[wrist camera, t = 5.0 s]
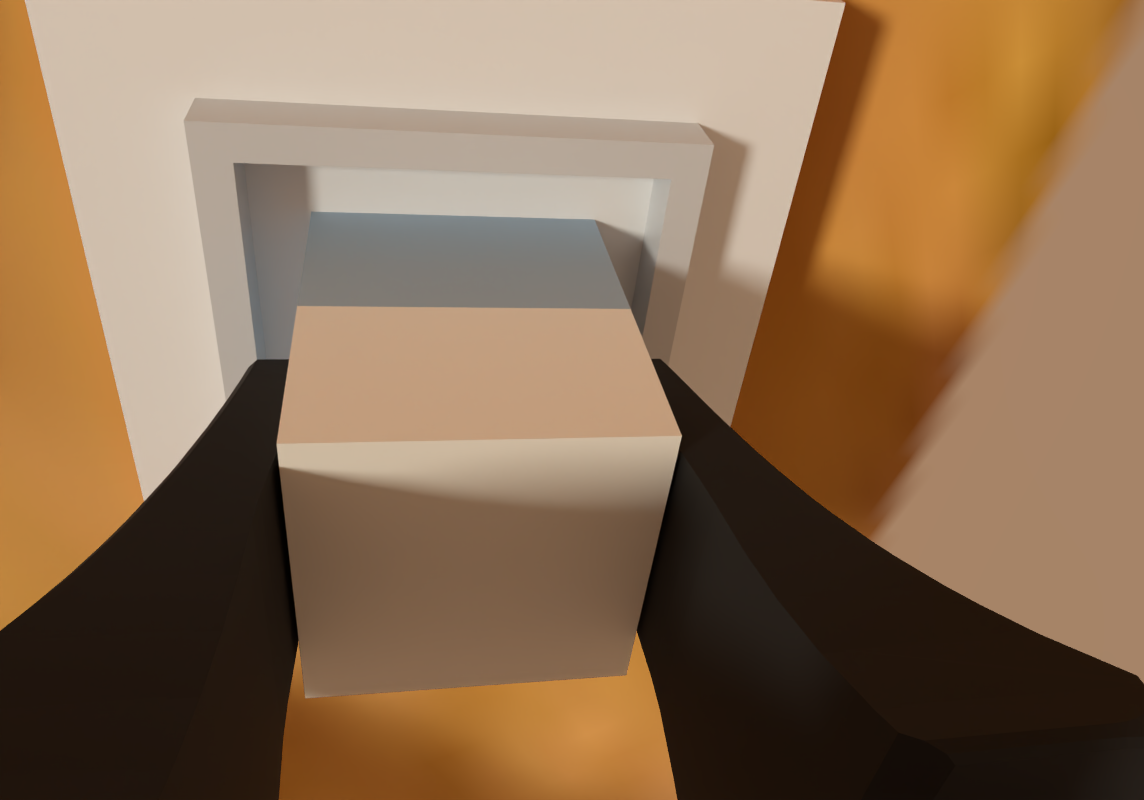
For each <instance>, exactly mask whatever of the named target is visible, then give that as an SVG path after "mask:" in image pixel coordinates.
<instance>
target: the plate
mask: <svg viewBox="0 0 1144 800" xmlns="http://www.w3.org/2000/svg"><path fill="white" fill-rule="evenodd" d="M25 3H26V7H27V11H28V16H29V20H30V24H31V28H32V32H33V37H34V41H35V45H36V49H37V53H38V58H39V62H40V66H41V70H42V74H43V79H44V83H45V87H46V91H47V95H48V100H49V104H50V108H51V112H52V116H53V121H54V125H55V129H56V133H57V137H58V142H59V146H60V150H61V154H62V158H63V163H64V167H65V171H66V175H67V179H68V184H69V188H70V192H71V196H72V200H73V205H74V209H75V213H76V217H77V221H78V226H79V230H80V234H81V238H82V242H83V247H84V251H85V255H86V259H87V263H88V268H89V272H90V276H91V280H92V284H93V289H94V293H95V297H96V301H97V305H98V310H99V314H100V318H101V322H102V326H103V331H104V335H105V339H106V343H107V347H108V351H109V356H110V360H111V364H112V368H113V372H114V377H115V381H116V385H117V389H118V393H119V398H120V402H121V406H122V410H123V414H124V419H125V423H126V427H127V431H128V435H129V440H130V444H131V448H132V452H133V456H134V461H135V465H136V469H137V473H138V477H139V482H140V486H141V490H142V494H143V498H144V501H145V500H146V499H147V498H148V497H149V496H150V495H151V493H152V492H153V491H154V490H155V489H156V488H157V487H158V486H159V485H160V484H161V482H162V481H163V480H164V479H165V478H166V477H167V476H168V475H169V474H170V472H171V471H172V470H173V469H174V468H175V467H176V465H177V464H178V463H179V462H180V461H181V459H182V458H183V457H184V456H185V454H186V453H187V452H188V450H189V449H190V448H191V447H192V445H193V444H194V443H195V442H196V440H197V439H198V438H199V437H200V435H201V434H202V433H203V432H204V430H205V429H206V428H207V427H208V425H209V424H210V423H211V421H212V420H213V418H214V417H215V416H216V414H217V413H218V412H219V410H220V409H221V407H222V406H223V405H224V403H225V402H226V400H227V399H228V398H229V396H230V395H231V393H232V392H233V390H234V389H235V387H236V386H237V384H238V383H239V381H240V380H241V378H242V377H243V375H244V374H245V372H246V370H247V369H248V367H249V366H250V365H251V364H253V363H254V362H255V361H256V360H257V359H289V357H290V350H291V344H292V337H293V330H294V324H295V317H296V310H297V304H298V297H299V290H300V284H301V277H302V270H303V263H304V257H305V250H306V243H307V237H308V230H309V223H310V217H311V212H345V213H381V214H416V215H451V216H487V217H522V218H558V219H593V220H595V222H596V225H597V227H598V229H599V232H600V234H601V237H602V239H603V242H604V244H605V247H606V249H607V252H608V254H609V257H610V259H611V262H612V264H613V267H614V269H615V272H616V274H617V277H618V279H619V281H620V284H621V286H622V289H623V291H624V294H625V296H626V299H627V301H628V304H629V306H630V309H631V311H632V314H633V316H634V319H635V321H636V324H637V326H638V328H639V331H640V333H641V336H642V338H643V341H644V343H645V346H646V348H647V351H648V353H649V356H650V358H651V359H661V360H662V361H663V362H664V363H666V364H667V365H668V366H669V367H670V368H671V369H672V370H673V371H674V372H675V373H676V374H677V375H678V376H679V377H680V378H681V379H682V380H683V381H684V382H685V383H686V384H687V385H688V386H689V387H690V388H691V389H692V390H693V391H694V392H695V393H696V394H697V395H698V396H699V397H700V398H701V399H702V400H703V401H704V402H705V403H706V404H707V405H708V406H709V407H710V408H711V409H712V410H713V411H714V412H715V413H716V414H717V415H718V416H719V417H720V418H721V419H722V420H723V421H724V422H726V423H727V424H728V425H729V426H731V423H732V419H733V415H734V412H735V408H736V404H737V401H738V397H739V393H740V390H741V386H742V382H743V379H744V375H745V371H746V368H747V364H748V360H749V356H750V353H751V349H752V345H753V342H754V338H755V334H756V331H757V327H758V323H759V320H760V316H761V312H762V309H763V305H764V301H765V298H766V294H767V290H768V287H769V283H770V279H771V276H772V272H773V268H774V265H775V261H776V257H777V254H778V250H779V246H780V242H781V239H782V235H783V231H784V228H785V224H786V220H787V217H788V213H789V209H790V206H791V202H792V198H793V195H794V191H795V187H796V184H797V180H798V176H799V173H800V169H801V165H802V162H803V158H804V154H805V151H806V147H807V143H808V140H809V136H810V132H811V128H812V125H813V121H814V117H815V114H816V110H817V106H818V103H819V99H820V95H821V92H822V88H823V84H824V81H825V77H826V73H827V70H828V66H829V62H830V59H831V55H832V51H833V48H834V44H835V40H836V37H837V33H838V29H839V26H840V22H841V18H842V15H843V11H844V7H845V2H843V1H842V0H25Z"/></svg>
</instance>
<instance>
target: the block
mask: <svg viewBox="0 0 1144 800" xmlns="http://www.w3.org/2000/svg"><path fill="white" fill-rule="evenodd" d="M681 438H682V435H681V432H680V430H679V428H678V425H677V423H676V420H675V418H674V415H673V413H672V410H671V408H670V405H669V403H668V400H667V398H666V395H665V393H664V390H663V388H662V385H661V383H660V380H659V378H658V376H657V373H656V371H655V368H654V366H653V363H652V361H651V358H650V356H649V353H648V351H647V348H646V346H645V343H644V341H643V338H642V336H641V333H640V331H639V328H638V326H637V324H636V321H635V319H634V316H633V314H632V311H631V309H630V306H629V304H628V301H627V299H626V296H625V294H624V291H623V289H622V286H621V284H620V281H619V279H618V277H617V274H616V272H615V269H614V267H613V264H612V262H611V259H610V257H609V254H608V252H607V249H606V247H605V244H604V242H603V239H602V237H601V234H600V232H599V229H598V227H597V225H596V222H595V220H593V219H558V218H522V217H487V216H451V215H416V214H381V213H345V212H311V217H310V223H309V230H308V237H307V243H306V250H305V257H304V263H303V270H302V277H301V284H300V290H299V297H298V304H297V310H296V317H295V324H294V330H293V337H292V344H291V350H290V357H289V364H288V370H287V377H286V384H285V390H284V397H283V404H282V410H281V417H280V424H279V430H278V437H277V453H278V462H279V471H280V479H281V488H282V497H283V506H284V515H285V524H286V533H287V541H288V550H289V559H290V568H291V577H292V586H293V594H294V603H295V612H296V621H297V630H298V639H299V648H300V656H301V665H302V674H303V683H304V692H305V698H318V697H332V696H345V695H359V694H373V693H387V692H401V691H415V690H429V689H442V688H456V687H470V686H484V685H498V684H512V683H525V682H539V681H553V680H567V679H581V678H595V677H608V676H622V675H626V674H627V670H628V665H629V661H630V657H631V652H632V648H633V644H634V639H635V635H636V631H637V627H638V622H639V618H640V614H641V609H642V605H643V601H644V597H645V592H646V588H647V584H648V579H649V575H650V571H651V567H652V562H653V558H654V554H655V549H656V545H657V541H658V536H659V532H660V528H661V524H662V519H663V515H664V511H665V506H666V502H667V498H668V494H669V489H670V485H671V481H672V476H673V472H674V468H675V463H676V459H677V455H678V451H679V446H680V442H681Z"/></svg>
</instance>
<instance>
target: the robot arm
mask: <svg viewBox="0 0 1144 800" xmlns="http://www.w3.org/2000/svg"><path fill="white" fill-rule="evenodd" d="M651 361H652V363H653V366H654V368H655V371H656V373H657V376H658V378H659V380H660V383H661V385H662V388H663V390H664V393H665V395H666V398H667V400H668V403H669V405H670V408H671V410H672V413H673V415H674V418H675V420H676V423H677V425H678V428H679V430H680V432H681V435H682V438H681V442H680V446H679V451H678V455H677V459H676V463H675V468H674V472H673V476H672V481H671V485H670V489H669V494H668V498H667V502H666V506H665V511H664V515H663V519H662V524H661V528H660V532H659V536H658V541H657V545H656V549H655V554H654V558H653V562H652V567H651V571H650V575H649V579H648V584H647V588H646V592H645V597H644V601H643V605H642V609H641V614H640V618H639V622H638V627H637V633H638V636H639V639H640V642H641V646H642V649H643V652H644V655H645V658H646V662H647V665H648V668H649V671H650V674H651V678H652V681H653V685H654V689H655V693H656V696H657V700H658V704H659V708H660V712H661V717H662V722H663V727H664V732H665V737H666V742H667V747H668V752H669V757H670V762H671V767H672V772H673V777H674V783H675V788H676V794H677V799H678V800H1144V684H1143V682H1142V681H1141V680H1140V679H1139V677H1138V676H1136V675H1134V674H1132V673H1130V672H1127V671H1125V670H1122V669H1120V668H1117V667H1115V666H1113V665H1111V664H1108V663H1106V662H1103V661H1101V660H1099V659H1097V658H1094V657H1092V656H1090V655H1087V654H1085V653H1082V652H1080V651H1078V650H1075V649H1073V648H1071V647H1068V646H1066V645H1063V644H1061V643H1059V642H1057V641H1054V640H1052V639H1050V638H1047V637H1045V636H1043V635H1040V634H1038V633H1036V632H1034V631H1032V630H1030V629H1028V628H1026V627H1024V626H1022V625H1019V624H1018V623H1016V622H1014V621H1012V620H1010V619H1008V618H1006V617H1004V616H1002V615H999V614H998V613H995V612H994V611H991V610H989V609H987V608H985V607H983V606H981V605H979V604H977V603H976V602H974V601H972V600H970V599H968V598H966V597H965V596H963V595H961V594H959V593H957V592H955V591H953V590H952V589H950V588H948V587H946V586H944V585H942V584H941V583H939V582H938V581H936V580H934V579H932V578H931V577H929V576H927V575H926V574H924V573H922V572H921V571H919V570H917V569H916V568H914V567H912V566H911V565H909V564H907V563H906V562H904V561H902V560H900V559H899V558H897V557H895V556H894V555H892V554H891V553H889V552H888V551H886V550H885V549H883V548H882V547H880V546H878V545H877V544H875V543H874V542H872V541H871V540H869V539H868V538H867V537H865V536H864V535H862V534H861V533H859V532H858V531H857V530H855V529H854V528H852V527H851V526H849V525H848V524H847V523H845V522H844V521H842V520H841V519H839V518H838V517H837V516H835V515H834V514H832V513H831V512H830V511H828V510H827V509H826V508H824V507H823V506H822V505H820V504H819V503H818V502H816V501H815V500H814V499H812V498H811V497H810V496H809V495H807V494H806V493H805V492H804V491H803V490H801V489H800V488H799V487H798V486H797V485H795V484H794V483H793V482H792V481H790V480H789V479H788V478H787V477H786V476H784V475H783V474H782V473H781V472H780V471H778V470H777V469H776V468H775V467H774V466H772V465H771V464H770V463H769V462H768V461H767V460H766V459H765V458H763V457H762V456H761V455H760V454H759V453H758V452H757V451H756V450H754V449H753V448H752V447H751V446H750V445H749V444H748V443H747V442H746V441H745V440H743V439H742V438H741V437H740V436H739V435H738V434H737V433H736V432H735V431H734V430H733V429H732V428H731V427H730V426H729V425H728V424H727V423H726V422H724V421H723V420H722V419H721V418H720V417H719V416H718V415H717V414H716V413H715V412H714V411H713V410H712V409H711V408H710V407H709V406H708V405H707V404H706V403H705V402H704V401H703V400H702V399H701V398H700V397H699V396H698V395H697V394H696V393H695V392H694V391H693V390H692V389H691V388H690V387H689V386H688V385H687V384H686V383H685V382H684V381H683V380H682V379H681V378H680V377H679V376H678V375H677V374H676V373H675V372H674V371H673V370H672V369H671V368H670V367H669V366H668V365H667V364H666V363H664V362H663V361H662V360H661V359H651ZM288 364H289V359H257V360H256V361H255V362H254V363H253V364H251V365H250V366H249V367H248V369H247V370H246V372H245V374H244V375H243V377H242V378H241V380H240V381H239V383H238V384H237V386H236V387H235V389H234V390H233V392H232V393H231V395H230V396H229V398H228V399H227V400H226V402H225V403H224V405H223V406H222V407H221V409H220V410H219V412H218V413H217V414H216V416H215V417H214V418H213V420H212V421H211V423H210V424H209V425H208V427H207V428H206V429H205V430H204V432H203V433H202V434H201V435H200V437H199V438H198V439H197V440H196V442H195V443H194V444H193V445H192V447H191V448H190V449H189V450H188V452H187V453H186V454H185V456H184V457H183V458H182V459H181V461H180V462H179V463H178V464H177V465H176V467H175V468H174V469H173V470H172V471H171V472H170V474H169V475H168V476H167V477H166V478H165V479H164V480H163V481H162V482H161V484H160V485H159V486H158V487H157V488H156V489H155V490H154V491H153V492H152V493H151V495H150V496H149V497H148V498H147V499H146V500H145V501H144V502H143V503H142V505H141V506H140V507H139V508H138V509H137V510H136V511H135V512H134V513H133V514H132V515H131V516H130V517H129V519H128V520H127V521H126V522H125V523H124V524H123V525H122V526H121V527H120V528H119V529H118V530H117V531H116V532H115V533H114V534H113V535H112V536H111V537H110V538H108V539H107V540H106V541H105V542H104V543H103V544H102V545H101V546H100V547H99V548H98V549H97V550H96V551H95V552H94V553H93V554H92V555H90V556H89V557H88V558H87V559H86V560H85V561H84V562H83V563H82V564H81V565H80V566H78V567H77V568H76V569H75V570H74V571H73V572H72V573H71V574H70V575H68V576H67V577H66V578H65V579H64V580H63V581H61V582H60V583H59V584H58V585H57V586H55V587H54V588H53V589H52V590H50V591H49V592H48V593H47V594H46V595H44V596H43V597H42V598H41V599H40V600H38V601H37V602H36V603H35V604H34V605H32V606H31V607H30V608H29V609H27V610H26V611H25V612H24V613H22V614H21V615H20V616H19V617H17V618H16V619H15V620H14V621H12V622H11V623H10V624H8V625H7V626H6V627H5V628H3V629H2V630H1V631H0V800H279V788H280V774H281V760H282V746H283V735H284V727H285V719H286V712H287V704H288V698H289V692H290V687H291V681H292V675H293V669H294V664H295V658H296V652H297V647H298V641H299V639H298V630H297V621H296V612H295V603H294V594H293V586H292V577H291V568H290V559H289V550H288V541H287V533H286V524H285V515H284V506H283V497H282V488H281V479H280V471H279V462H278V453H277V437H278V430H279V424H280V417H281V410H282V404H283V397H284V390H285V384H286V377H287V370H288Z"/></svg>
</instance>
